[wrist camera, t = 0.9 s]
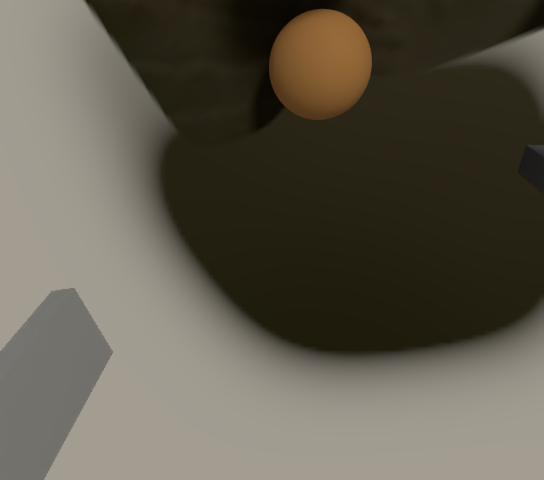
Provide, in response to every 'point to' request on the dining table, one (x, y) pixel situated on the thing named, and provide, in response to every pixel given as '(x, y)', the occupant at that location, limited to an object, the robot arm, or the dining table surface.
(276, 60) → the ball
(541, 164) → the bridge
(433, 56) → the dining table surface
